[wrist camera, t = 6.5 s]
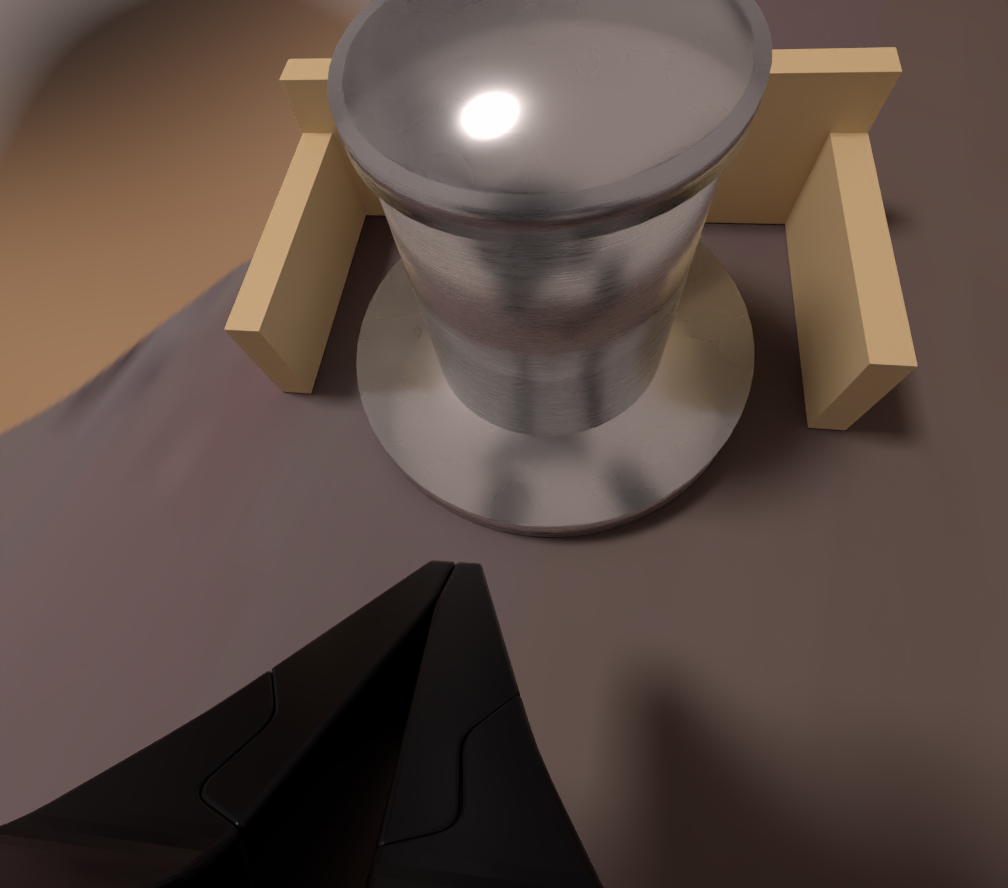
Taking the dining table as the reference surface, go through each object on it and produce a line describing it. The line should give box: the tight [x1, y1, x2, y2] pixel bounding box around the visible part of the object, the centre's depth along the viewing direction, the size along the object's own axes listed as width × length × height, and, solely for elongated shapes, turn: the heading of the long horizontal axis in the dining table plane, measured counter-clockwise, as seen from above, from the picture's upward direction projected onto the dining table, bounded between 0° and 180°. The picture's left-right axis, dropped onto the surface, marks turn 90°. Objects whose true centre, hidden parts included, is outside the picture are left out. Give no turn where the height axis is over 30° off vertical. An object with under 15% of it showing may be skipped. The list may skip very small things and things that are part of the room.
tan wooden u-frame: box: [224, 47, 917, 430], centre depth 19 cm, size 11×20×6 cm, turn 83°
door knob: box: [327, 0, 772, 538], centre depth 16 cm, size 14×14×11 cm
